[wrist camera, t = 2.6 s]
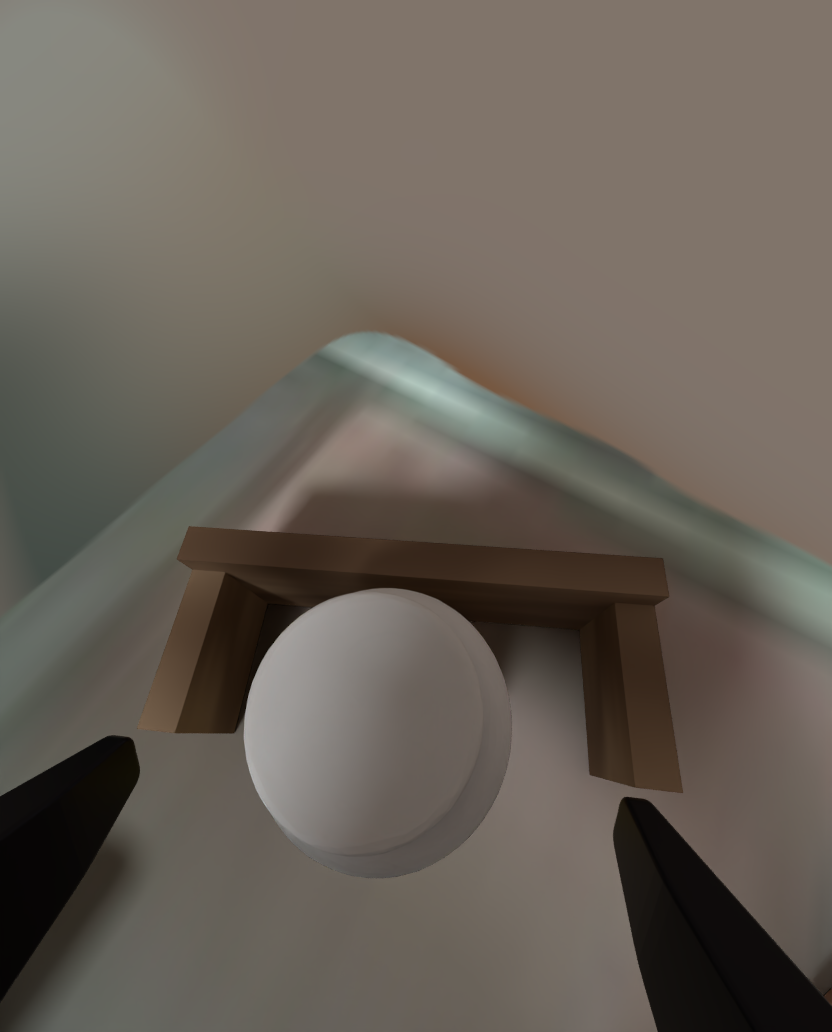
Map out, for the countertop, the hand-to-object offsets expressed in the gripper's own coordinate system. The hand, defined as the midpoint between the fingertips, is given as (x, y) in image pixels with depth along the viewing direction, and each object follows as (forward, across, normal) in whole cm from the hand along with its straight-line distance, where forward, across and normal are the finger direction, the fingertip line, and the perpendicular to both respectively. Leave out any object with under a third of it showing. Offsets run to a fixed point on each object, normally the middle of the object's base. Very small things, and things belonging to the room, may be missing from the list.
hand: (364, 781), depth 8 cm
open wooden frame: (+8, 0, +4) cm, 9 cm away
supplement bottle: (+7, 0, +6) cm, 9 cm away
